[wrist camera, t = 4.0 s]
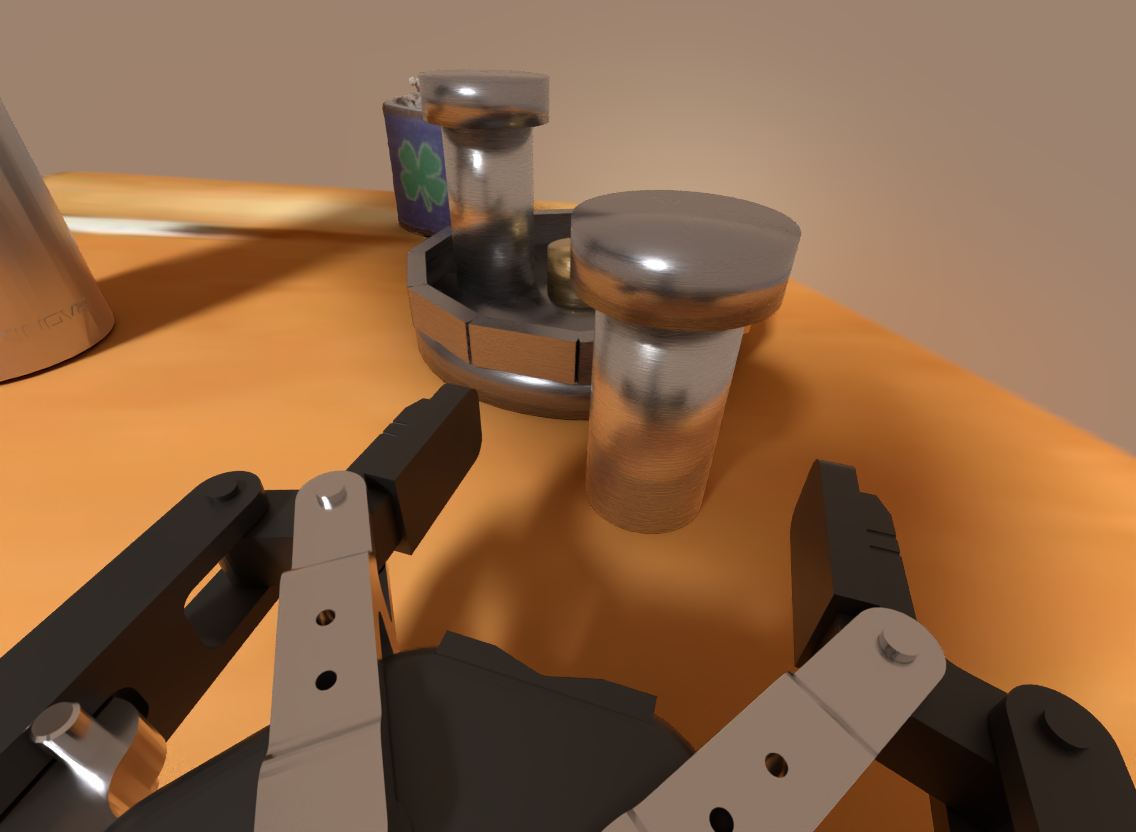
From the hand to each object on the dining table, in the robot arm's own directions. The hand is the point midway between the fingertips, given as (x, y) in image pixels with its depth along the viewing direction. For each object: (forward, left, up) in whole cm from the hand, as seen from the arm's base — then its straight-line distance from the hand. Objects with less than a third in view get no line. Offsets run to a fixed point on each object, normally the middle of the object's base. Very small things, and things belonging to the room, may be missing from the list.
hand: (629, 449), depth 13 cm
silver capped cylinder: (0, +5, -6) cm, 8 cm away
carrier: (-6, +17, -6) cm, 19 cm away
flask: (-21, +29, -6) cm, 36 cm away
